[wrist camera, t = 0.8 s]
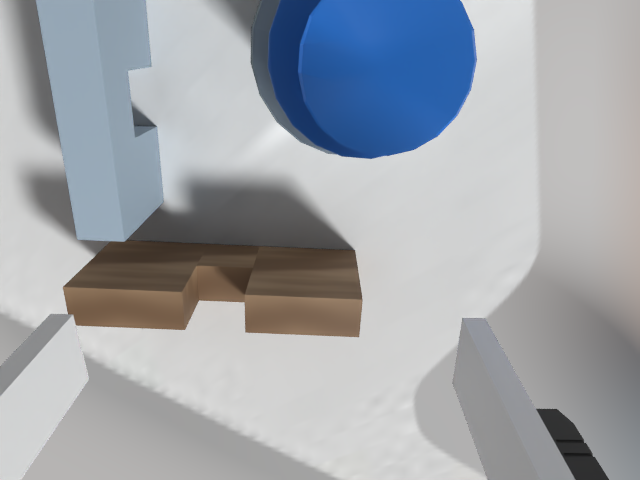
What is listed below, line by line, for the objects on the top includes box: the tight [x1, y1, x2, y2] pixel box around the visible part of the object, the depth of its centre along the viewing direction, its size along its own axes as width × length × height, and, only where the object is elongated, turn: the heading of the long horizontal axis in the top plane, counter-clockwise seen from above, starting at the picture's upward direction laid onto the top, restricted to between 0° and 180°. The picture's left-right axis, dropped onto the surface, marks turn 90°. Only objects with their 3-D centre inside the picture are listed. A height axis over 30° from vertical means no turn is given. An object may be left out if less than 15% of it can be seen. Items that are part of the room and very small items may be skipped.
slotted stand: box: [63, 240, 362, 337], centre depth 36 cm, size 3×20×8 cm, turn 88°
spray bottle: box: [251, 0, 477, 159], centre depth 21 cm, size 9×9×25 cm
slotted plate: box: [36, 0, 164, 242], centre depth 30 cm, size 16×3×8 cm, turn 177°
